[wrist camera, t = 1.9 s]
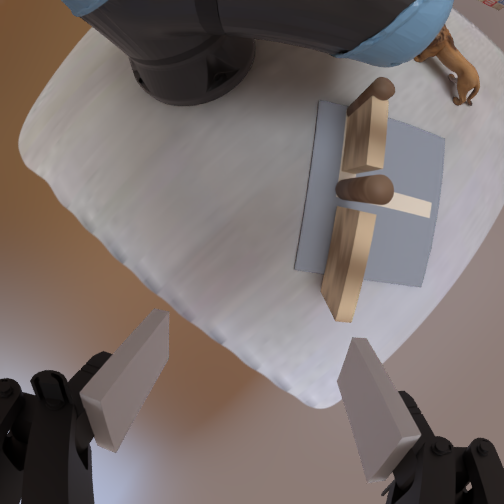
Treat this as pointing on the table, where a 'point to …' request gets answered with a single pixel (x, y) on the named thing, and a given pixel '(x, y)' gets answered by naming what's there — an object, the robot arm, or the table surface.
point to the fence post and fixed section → (367, 146)
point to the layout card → (387, 216)
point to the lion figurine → (453, 65)
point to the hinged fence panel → (347, 261)
